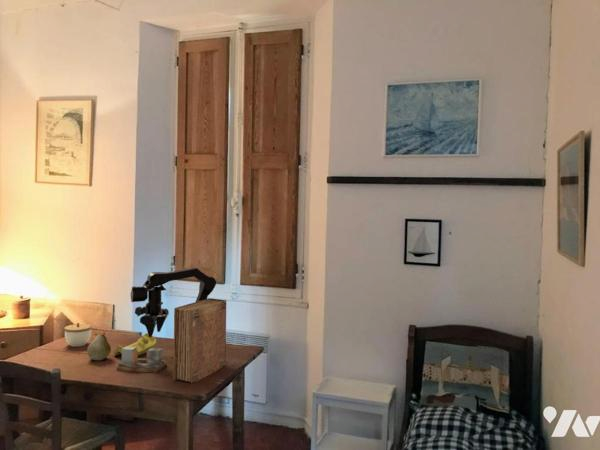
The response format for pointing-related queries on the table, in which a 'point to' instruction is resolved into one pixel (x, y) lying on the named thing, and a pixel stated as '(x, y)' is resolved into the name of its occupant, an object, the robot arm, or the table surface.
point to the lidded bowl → (77, 334)
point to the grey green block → (129, 355)
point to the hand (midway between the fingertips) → (154, 334)
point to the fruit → (99, 348)
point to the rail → (146, 362)
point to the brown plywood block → (199, 339)
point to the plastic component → (139, 345)
